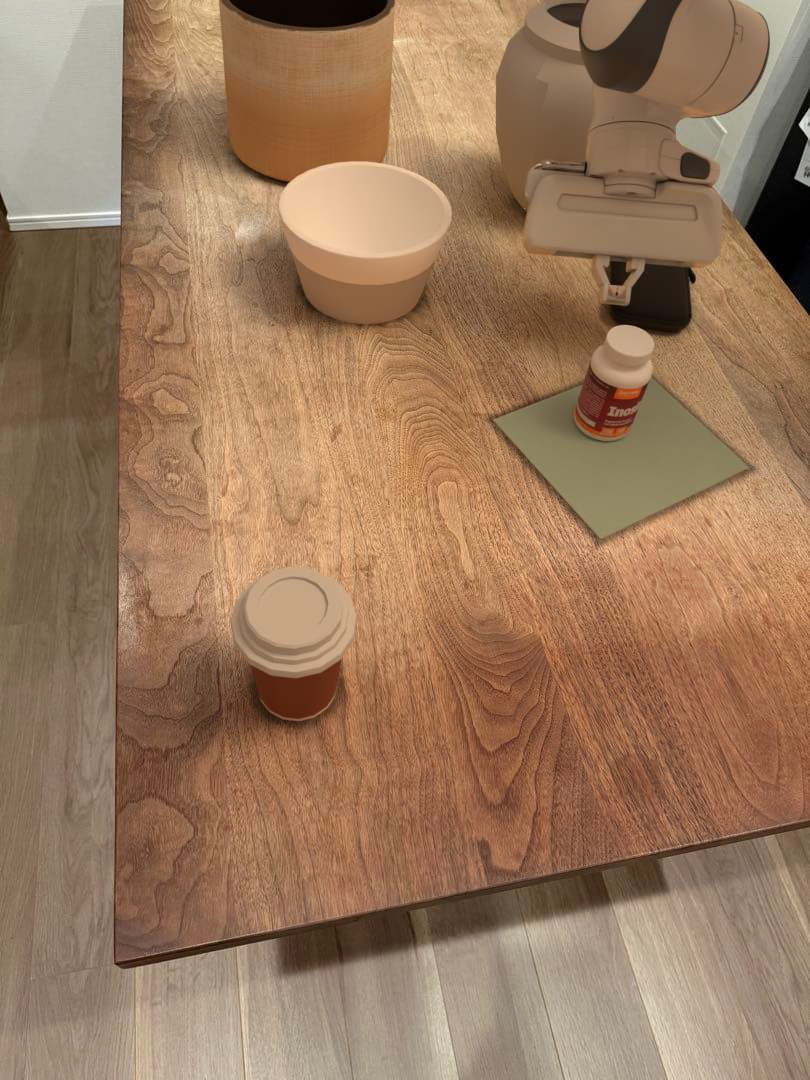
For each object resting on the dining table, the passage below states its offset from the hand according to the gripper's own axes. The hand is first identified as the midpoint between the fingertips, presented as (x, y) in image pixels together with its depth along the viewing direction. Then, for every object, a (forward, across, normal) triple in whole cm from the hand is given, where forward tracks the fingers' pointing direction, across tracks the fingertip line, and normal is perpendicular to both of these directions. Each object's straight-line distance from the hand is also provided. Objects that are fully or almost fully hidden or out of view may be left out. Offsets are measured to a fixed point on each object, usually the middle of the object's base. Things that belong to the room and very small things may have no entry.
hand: (613, 304), depth 92 cm
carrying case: (-4, +8, +17) cm, 19 cm away
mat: (+15, +2, -2) cm, 15 cm away
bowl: (-2, -27, +14) cm, 31 cm away
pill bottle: (+12, 0, 0) cm, 13 cm away
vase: (-17, -3, +30) cm, 35 cm away
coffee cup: (+36, -28, -24) cm, 52 cm away
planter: (-23, -36, +36) cm, 56 cm away
